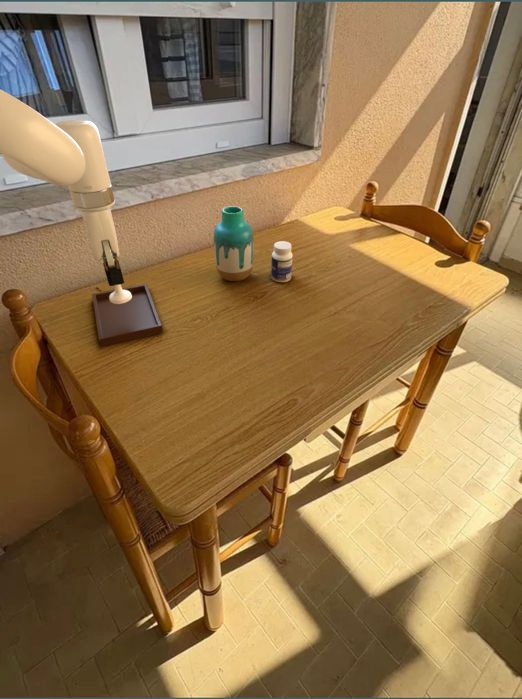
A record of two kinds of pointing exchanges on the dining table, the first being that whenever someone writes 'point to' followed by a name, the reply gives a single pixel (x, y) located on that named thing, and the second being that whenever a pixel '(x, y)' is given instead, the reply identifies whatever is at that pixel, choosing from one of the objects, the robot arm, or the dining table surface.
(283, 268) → the pill bottle
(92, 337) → the dining table surface
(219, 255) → the vase
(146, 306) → the tray
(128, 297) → the chess piece
